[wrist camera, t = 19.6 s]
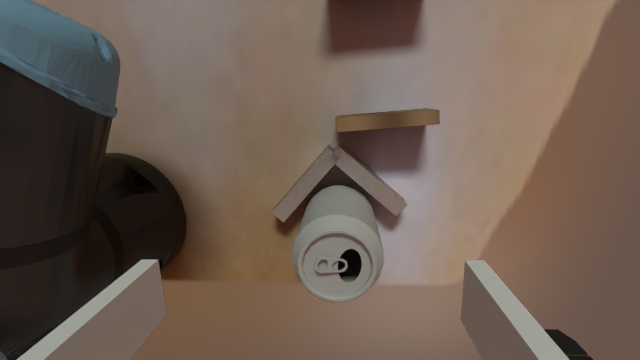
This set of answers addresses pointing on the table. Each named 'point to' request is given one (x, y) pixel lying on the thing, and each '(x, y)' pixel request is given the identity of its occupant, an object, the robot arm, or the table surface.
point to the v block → (352, 169)
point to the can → (338, 245)
